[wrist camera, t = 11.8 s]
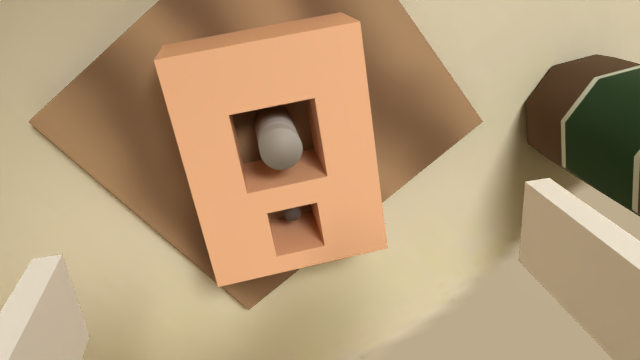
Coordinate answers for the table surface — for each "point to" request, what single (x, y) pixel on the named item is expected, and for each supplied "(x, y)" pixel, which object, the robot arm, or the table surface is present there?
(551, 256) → the robot arm
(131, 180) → the post board
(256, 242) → the salmon block with slots
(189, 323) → the table surface
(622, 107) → the beer bottle
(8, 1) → the table surface
